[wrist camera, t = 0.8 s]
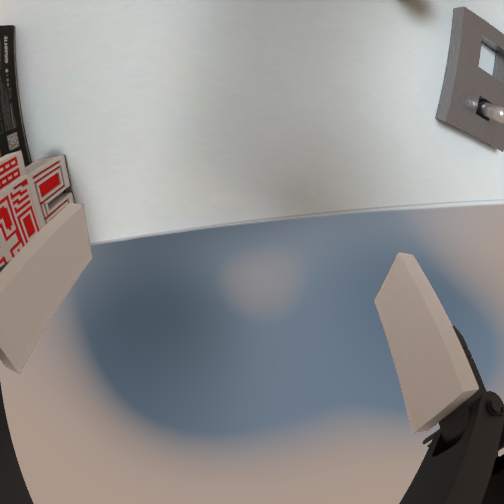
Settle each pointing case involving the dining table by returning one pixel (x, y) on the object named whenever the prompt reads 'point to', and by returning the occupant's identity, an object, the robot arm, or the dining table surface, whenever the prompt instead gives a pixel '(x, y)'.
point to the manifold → (473, 80)
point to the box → (10, 99)
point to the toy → (29, 199)
